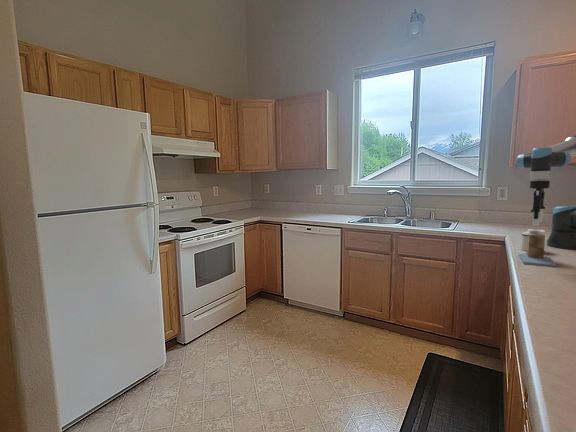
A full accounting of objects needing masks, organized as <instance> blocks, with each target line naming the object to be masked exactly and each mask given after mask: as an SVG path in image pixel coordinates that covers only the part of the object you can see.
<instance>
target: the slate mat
mask: <svg viewBox="0 0 576 432" xmlns="http://www.w3.org/2000/svg"><path fill="white" fill-rule="evenodd" d="M518 256H519V259H520V260H521V262H522V264H523V265H531V266H543V267H551V268H553V267H554V268H557V264H556V262H555V261H554V260H553V259H552V258H551V257H550V256H549V255H544V258H534V257H528V256H527V253H518Z"/></svg>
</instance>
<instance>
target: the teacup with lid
mask: <svg viewBox="0 0 576 432" xmlns="http://www.w3.org/2000/svg"><path fill="white" fill-rule="evenodd" d="M527 239H528V230H526V231H524V232H522V233H521V244H520V245H521V246H520V247H521V248H520V250H522V251H524V252H525V251H526V252H527Z"/></svg>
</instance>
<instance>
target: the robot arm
mask: <svg viewBox="0 0 576 432" xmlns="http://www.w3.org/2000/svg"><path fill="white" fill-rule="evenodd" d="M572 155H576V135H573V136H570V137H567V138H566V139H564V141H561V142H558V143H555V144H553V145H550V146H546V147H534V148H533V149H532V150H531V152H530V153H522V154H519V155H518V156H517V157H516V160H515V162H516V163H515V165H516V167H518V168H519V169H530V172H529V173H530V174H529V175H530V177H529V180H530V181H529V189H535V190H534V191H533V201H532V202H533V203H532V204H533V205H532V209H531V210H530V212H531V213H532V223H531V225H532V226H535V227H540V223H543V217H544V210H545V209H546V207H545V205H544V204H545V203H544V200H545V189H549V188H550V185H551V183H550V182H551V181H550V180H551V176H552V175H553V173H552V172H551V169H552V168H562V167H566V166H568V165H569V164H570V163H571V161H572ZM551 216H552V219H551V232H550V234H549V235H548V238H547V240H546V246H547V247H551V248H559V249H566V250H567V249H568V250H569V249H570V250H576V205H569V206H568V205H567V206H566V205H565V206H555V207H554V208H553V211H552V214H551Z"/></svg>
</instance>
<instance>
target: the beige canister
mask: <svg viewBox="0 0 576 432" xmlns="http://www.w3.org/2000/svg"><path fill="white" fill-rule="evenodd" d="M527 231H528V239H527V251H526V254H527V256H528V257H534V258H544V256H545V244H546V242H545V241H546V231H545V230H544V229H535V228H528V229H527Z"/></svg>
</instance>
